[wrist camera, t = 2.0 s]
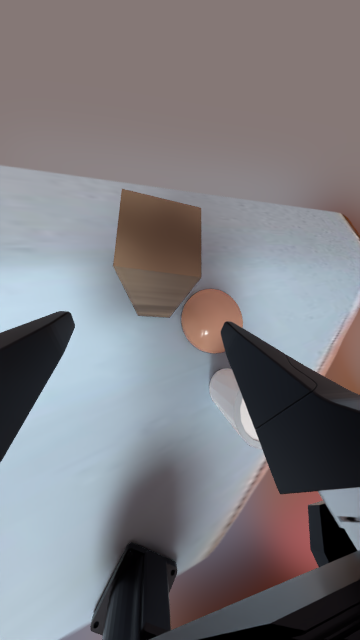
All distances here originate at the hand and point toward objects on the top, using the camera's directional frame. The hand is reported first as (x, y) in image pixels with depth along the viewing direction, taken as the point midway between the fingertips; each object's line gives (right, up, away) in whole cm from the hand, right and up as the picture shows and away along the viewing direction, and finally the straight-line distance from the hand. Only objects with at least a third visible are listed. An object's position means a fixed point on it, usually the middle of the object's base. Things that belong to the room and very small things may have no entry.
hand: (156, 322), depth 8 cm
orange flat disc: (+6, 0, +13) cm, 15 cm away
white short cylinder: (+8, -10, +12) cm, 18 cm away
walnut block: (-2, +3, +12) cm, 12 cm away
